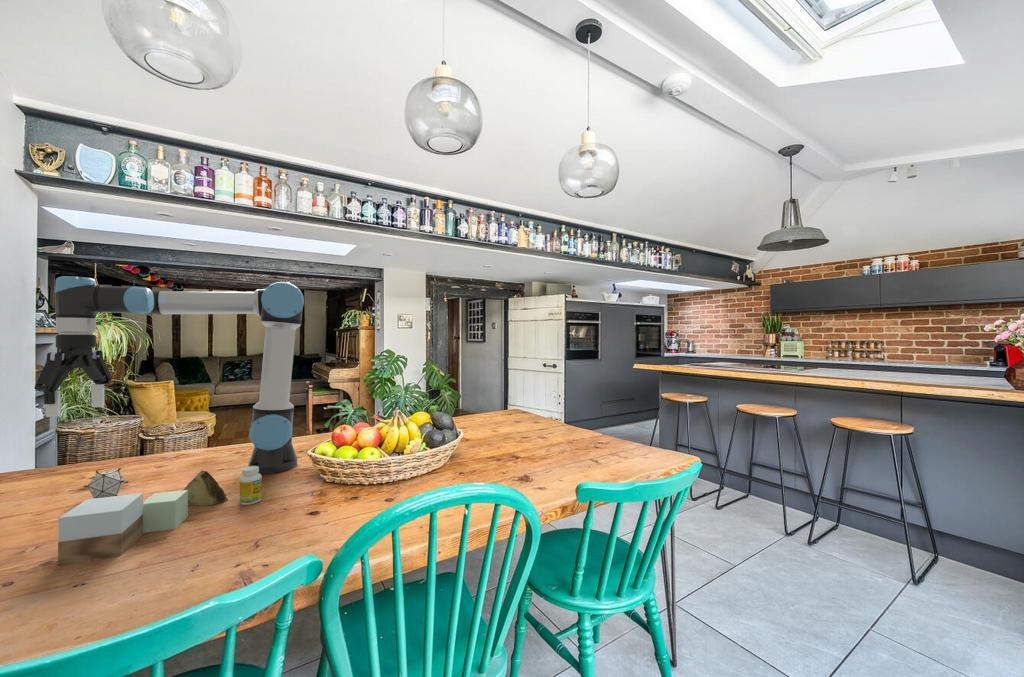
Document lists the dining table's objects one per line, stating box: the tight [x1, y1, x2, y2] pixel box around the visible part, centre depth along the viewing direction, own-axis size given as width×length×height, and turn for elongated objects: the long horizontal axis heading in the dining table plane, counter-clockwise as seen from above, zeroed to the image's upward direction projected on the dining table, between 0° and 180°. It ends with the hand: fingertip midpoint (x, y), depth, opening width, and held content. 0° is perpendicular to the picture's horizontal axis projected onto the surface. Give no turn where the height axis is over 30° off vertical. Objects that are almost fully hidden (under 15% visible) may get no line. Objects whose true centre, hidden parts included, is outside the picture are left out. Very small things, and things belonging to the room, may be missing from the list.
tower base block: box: [57, 515, 144, 566], centre depth 89 cm, size 10×10×5 cm
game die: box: [83, 467, 129, 499], centre depth 116 cm, size 9×8×10 cm
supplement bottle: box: [238, 466, 263, 506], centre depth 114 cm, size 5×5×10 cm
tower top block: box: [58, 492, 144, 542], centre depth 89 cm, size 10×10×5 cm
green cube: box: [143, 489, 189, 534], centre depth 100 cm, size 7×7×7 cm
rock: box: [183, 469, 228, 506], centre depth 114 cm, size 11×9×10 cm
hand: (77, 411), depth 110 cm, fingers open, 13 cm apart
